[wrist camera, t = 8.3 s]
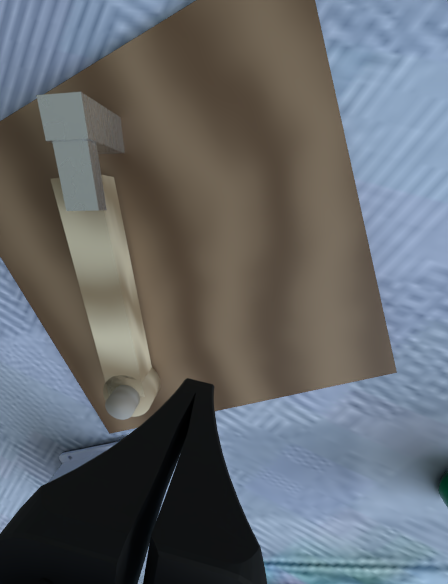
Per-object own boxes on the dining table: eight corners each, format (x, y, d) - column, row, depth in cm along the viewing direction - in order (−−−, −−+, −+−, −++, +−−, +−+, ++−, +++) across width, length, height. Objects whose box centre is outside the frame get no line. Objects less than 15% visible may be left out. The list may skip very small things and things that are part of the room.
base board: (116, 423, 26) (109, 433, 25) (-42, 161, 19) (-61, 158, 18) (389, 363, 20) (396, 372, 19) (297, -42, 14) (300, -64, 12)
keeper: (131, 209, 18) (99, 210, 14) (99, 210, 18) (60, 211, 14) (120, 117, 16) (80, 91, 12) (85, 119, 16) (36, 95, 13)
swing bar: (163, 399, 22) (149, 429, 19) (121, 398, 23) (100, 427, 20) (120, 176, 17) (91, 169, 14) (66, 182, 17) (26, 177, 14)
